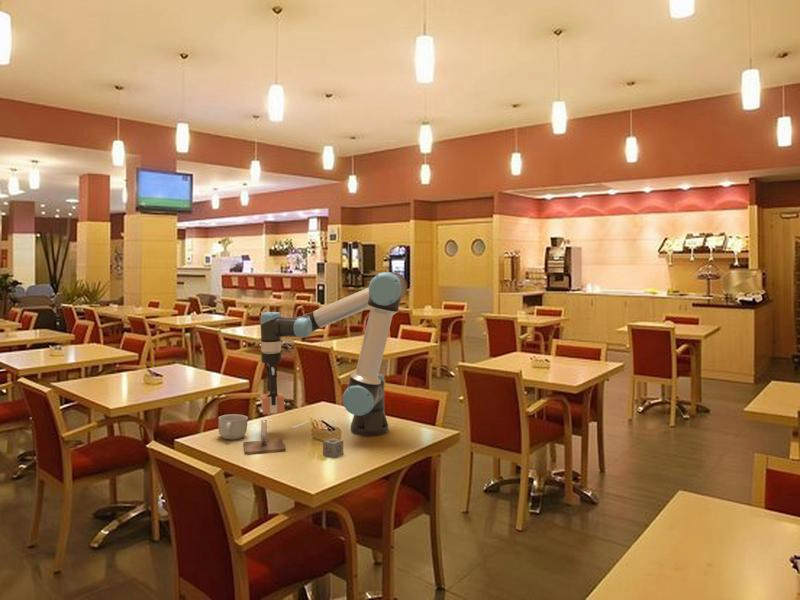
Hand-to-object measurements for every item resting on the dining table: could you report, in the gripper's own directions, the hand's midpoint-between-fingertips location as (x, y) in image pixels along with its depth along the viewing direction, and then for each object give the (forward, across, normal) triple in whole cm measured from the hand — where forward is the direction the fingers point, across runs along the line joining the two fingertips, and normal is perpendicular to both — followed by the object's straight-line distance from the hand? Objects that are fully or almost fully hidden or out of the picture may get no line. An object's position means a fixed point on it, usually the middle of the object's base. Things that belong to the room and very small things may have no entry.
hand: (272, 410), depth 226 cm
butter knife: (+10, -18, +17) cm, 27 cm away
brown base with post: (+10, +16, -4) cm, 19 cm away
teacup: (+10, +1, -16) cm, 18 cm away
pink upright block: (0, 0, 0) cm, 0 cm away
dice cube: (+11, +30, +18) cm, 36 cm away
